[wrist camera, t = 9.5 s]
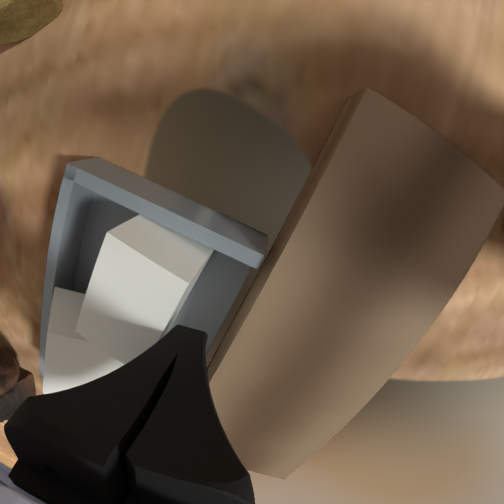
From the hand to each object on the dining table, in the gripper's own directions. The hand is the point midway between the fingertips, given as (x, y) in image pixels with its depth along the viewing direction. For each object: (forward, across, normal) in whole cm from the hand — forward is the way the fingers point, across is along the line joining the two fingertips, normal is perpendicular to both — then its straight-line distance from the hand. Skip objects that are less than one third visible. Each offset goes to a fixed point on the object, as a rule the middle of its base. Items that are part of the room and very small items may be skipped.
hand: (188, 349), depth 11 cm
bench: (+4, -5, 0) cm, 7 cm away
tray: (+4, +4, +2) cm, 6 cm away
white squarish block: (0, +4, +3) cm, 5 cm away
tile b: (+1, +1, -1) cm, 2 cm away
